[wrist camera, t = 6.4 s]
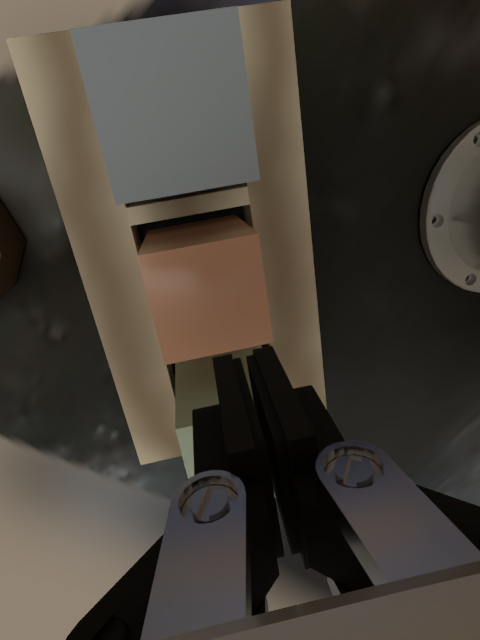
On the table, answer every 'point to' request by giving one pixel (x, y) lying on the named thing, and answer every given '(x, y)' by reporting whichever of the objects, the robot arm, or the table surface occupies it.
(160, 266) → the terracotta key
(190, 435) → the sage key
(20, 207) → the table surface
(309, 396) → the robot arm
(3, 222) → the beer bottle
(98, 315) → the birch board
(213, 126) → the slate key
